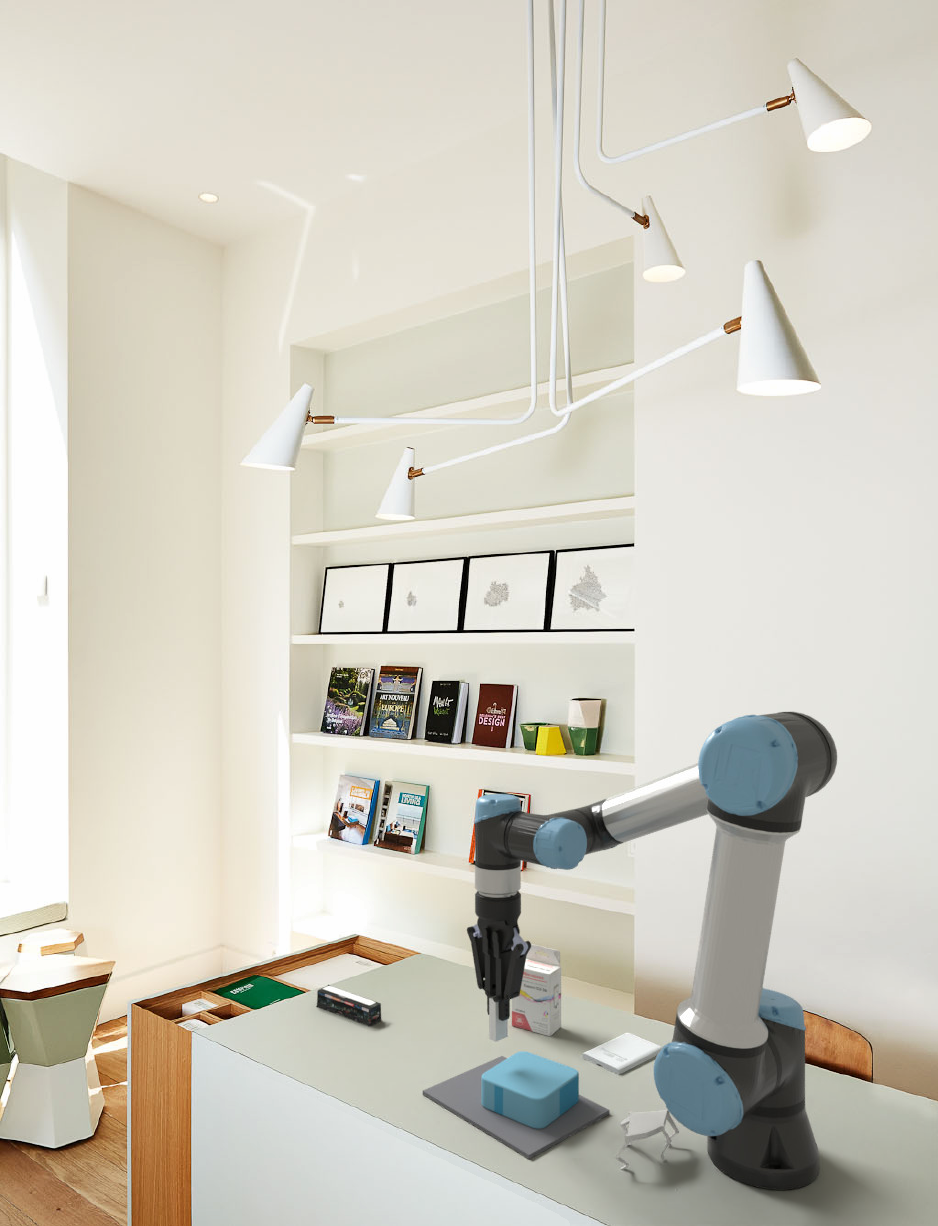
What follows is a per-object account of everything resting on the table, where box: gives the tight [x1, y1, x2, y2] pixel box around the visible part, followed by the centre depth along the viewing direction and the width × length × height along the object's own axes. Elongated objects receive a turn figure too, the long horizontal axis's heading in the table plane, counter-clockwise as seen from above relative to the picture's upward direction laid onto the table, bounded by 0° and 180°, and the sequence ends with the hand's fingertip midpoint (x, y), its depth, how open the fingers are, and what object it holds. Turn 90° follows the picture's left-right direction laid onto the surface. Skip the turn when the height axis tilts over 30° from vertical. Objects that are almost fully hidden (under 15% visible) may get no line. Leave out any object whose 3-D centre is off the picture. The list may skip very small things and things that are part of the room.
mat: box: [422, 1055, 611, 1160], centre depth 140 cm, size 24×18×1 cm
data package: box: [481, 1050, 580, 1129], centre depth 139 cm, size 12×4×12 cm
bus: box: [315, 984, 382, 1027], centre depth 172 cm, size 14×25×4 cm, turn 52°
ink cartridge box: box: [511, 943, 562, 1037], centre depth 168 cm, size 9×5×15 cm, turn 58°
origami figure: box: [614, 1109, 680, 1170], centre depth 126 cm, size 12×8×5 cm
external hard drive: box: [581, 1032, 663, 1076], centre depth 157 cm, size 2×8×12 cm
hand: (498, 1037), depth 143 cm, fingers closed
